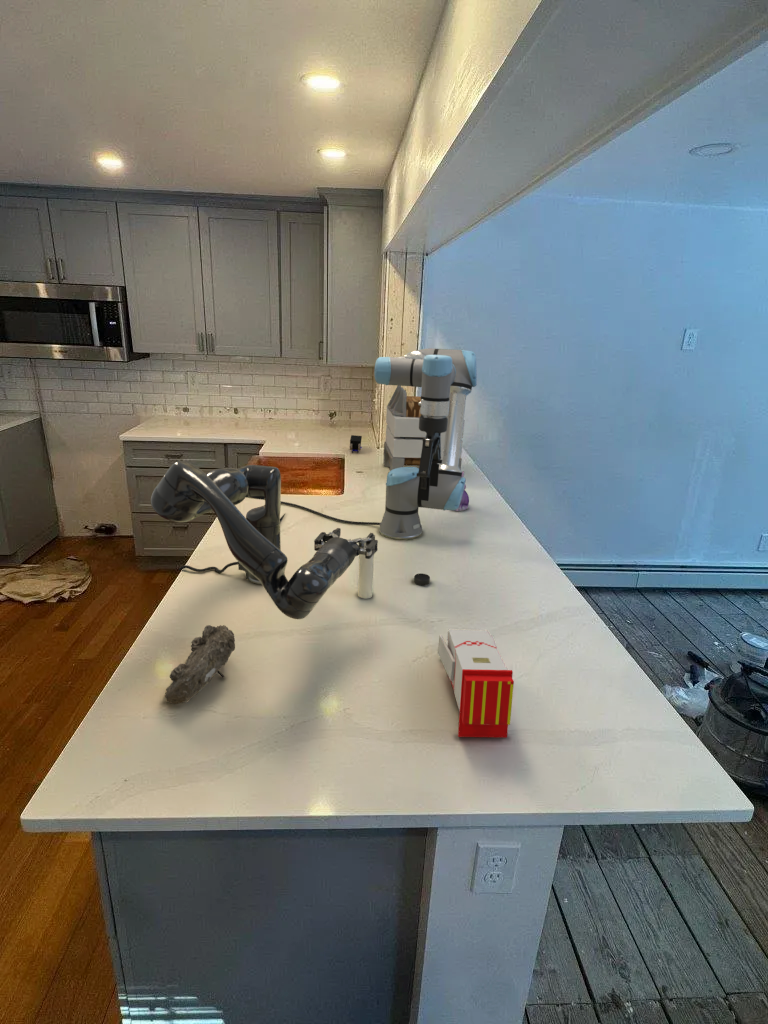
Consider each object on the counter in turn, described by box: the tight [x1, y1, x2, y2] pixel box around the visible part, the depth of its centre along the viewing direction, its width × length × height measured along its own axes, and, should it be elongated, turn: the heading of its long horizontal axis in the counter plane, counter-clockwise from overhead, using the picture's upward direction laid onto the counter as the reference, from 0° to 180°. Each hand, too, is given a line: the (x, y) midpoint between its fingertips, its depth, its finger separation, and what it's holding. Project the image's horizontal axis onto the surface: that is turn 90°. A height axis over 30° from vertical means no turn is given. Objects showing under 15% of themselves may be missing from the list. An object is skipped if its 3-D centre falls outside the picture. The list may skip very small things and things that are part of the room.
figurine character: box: [349, 434, 363, 454], centre depth 310 cm, size 7×8×15 cm
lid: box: [413, 572, 431, 587], centre depth 165 cm, size 5×5×2 cm
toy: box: [437, 628, 515, 738], centre depth 117 cm, size 12×13×30 cm
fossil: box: [165, 624, 236, 705], centre depth 118 cm, size 22×10×15 cm
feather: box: [280, 513, 286, 523], centre depth 210 cm, size 2×28×2 cm
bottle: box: [357, 537, 375, 600], centre depth 154 cm, size 4×4×17 cm
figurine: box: [453, 470, 470, 512], centre depth 226 cm, size 9×10×15 cm
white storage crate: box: [383, 385, 465, 472], centre depth 268 cm, size 34×33×41 cm
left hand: (355, 534), depth 140 cm, fingers open, 8 cm apart
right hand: (428, 492), depth 156 cm, fingers open, 13 cm apart
